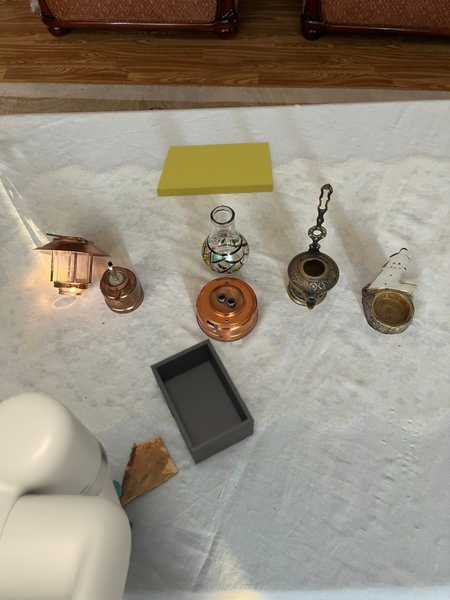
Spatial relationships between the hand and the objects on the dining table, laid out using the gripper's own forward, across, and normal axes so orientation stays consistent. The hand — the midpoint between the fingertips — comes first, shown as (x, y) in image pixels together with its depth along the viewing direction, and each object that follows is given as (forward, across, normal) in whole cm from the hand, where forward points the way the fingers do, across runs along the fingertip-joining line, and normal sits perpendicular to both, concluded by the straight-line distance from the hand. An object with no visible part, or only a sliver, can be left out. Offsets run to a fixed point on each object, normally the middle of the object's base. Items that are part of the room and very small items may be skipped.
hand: (107, 497), depth 65 cm
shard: (+16, -4, +5) cm, 18 cm away
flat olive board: (+16, -56, +42) cm, 72 cm away
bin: (+16, -10, +17) cm, 26 cm away
